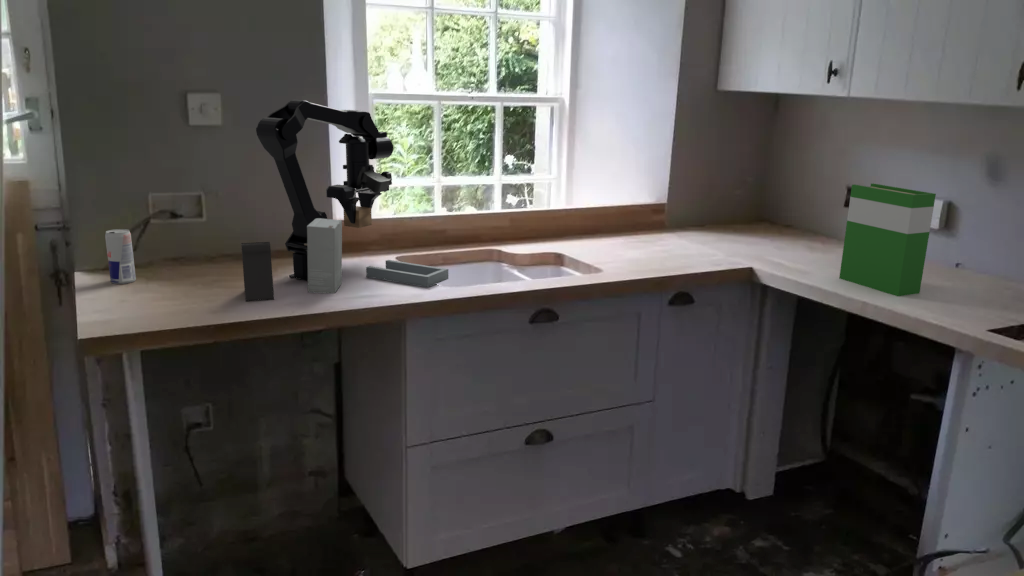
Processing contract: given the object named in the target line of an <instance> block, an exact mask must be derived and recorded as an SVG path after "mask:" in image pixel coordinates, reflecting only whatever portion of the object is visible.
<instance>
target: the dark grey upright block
mask: <svg viewBox="0 0 1024 576" xmlns="http://www.w3.org/2000/svg"><path fill="white" fill-rule="evenodd" d="M240 245H241V258H242V271H243V272H242V273H243V286H244V297H245V302H246V303H247V302H258V301H270V300H271V301H274V300H275V291H274V278H273V268H272V266H273V265H272V253H271V251H272V250H271V242H270V241H262V242H241V244H240Z"/></svg>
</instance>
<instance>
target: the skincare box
mask: <svg viewBox="0 0 1024 576" xmlns="http://www.w3.org/2000/svg"><path fill="white" fill-rule="evenodd" d="M306 245H307V261H308V280H307V292H308V293H312V294H313V293H314V294H315V293H318V294H335V293H336V292H337V290H338V289H339V288H340V286H341V285H342V284H343V283H342V282H343V279H342V277H343V276H342V275H343V272H342V270H343V267H342V266H343V220H342V219H332V218H327V219H322V218H316V219H315V220H313V221H312V222H311V223H310V224H309V225H308V226H307V244H306Z"/></svg>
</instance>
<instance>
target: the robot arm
mask: <svg viewBox="0 0 1024 576" xmlns="http://www.w3.org/2000/svg"><path fill="white" fill-rule="evenodd" d="M306 120H310V121H313V122H314V121H315V122H318V123H323V124H327V125H332V126H334V127H335V128H337V129H338V130H339V131H342V132H344V135H343V136H342V137H341V138H340V139H339V140H338V143H339V144H344V145H345V160H346V163H345V164H343V165H342V170H346V180H343V181H342V183H343V184H334V185H329V186H327V188H326V190H325V191H326V192H325V193H326V198H330V199H335V200H337V201H338V203H339V204H340V206H341V207H342V209H343V212H344V211H345V213H346V215H347V216H348V218H349V220H350V222H351V223H353V224H354V223H355V220H356V206H357V203H358V202H359V205H360V207H368V208H371V210H372V208H373V205H374V202H375V200H376V199H378V197H379V196H381V195H382V194H383V193H385V192H387V191H388V192H389V191H390V186H392V185H393V182H392V181H393V178H392V177H393V176H392V173H391V172H390V171H388V170H386V171H384V170H383V171H382V172H375V167H374V166H373V164H370V160H378V159H380V160H381V159H387V158H390V157H391V156H392V154H393V153H394V145H393V142H392V140H391V139H390V137H389V136H388V132H387V131H379V130H378V127H377V126H376V124H375V122H374V120H373V118H372V116H371V113H370V112H369V111H367V110H356V109H355V110H354V109H339V108H334V107H329V106H325V105H323V104H317V103H313V102H309V101H308V100H306V99H304V100H303V99H301V100H300V99H291V100H289V101H288V102H287V103H286V104H285V105H283V106H282V107H280V108H278V109H277V110H275V111H272V112H271V113H270V114H269V115H268V116H265V117H263V118H262V119H260V120H259V122H258V123H257V126H256V128H255V133H256V136H257V138H258V140H259V142H260V143H261V145H262V147H263V148H264V150H265V151H267V153H268V154H269V155H270V156H271V157H272V158H273V161H274V162H275V165H276V168H277V170H278V173H279V176H280V178H281V181H282V185H283V187H284V190H285V193H286V195H287V198H288V201H289V203H290V205H291V208H292V212H293V216H292V221H291V226H292V230H293V231H292V232H291V234H290V236H289V237H288V239H286V242H285V243H284V245H285V248H286V250H287V252H292V263H293V265H292V266H293V273H292V274H289V275H288V277H289V278H292V279H298V280H302V281H303V280H304V281H308V261H307V226H308V225H309V224H310V223H311V222H312V221H313V220H315V219H316V218H322V219H328V216H327V213H326V211H319V210H317V209H316V208H315V206H314V203H313V200H312V197H311V194H310V192H309V189H308V186H307V183H306V180H305V177H304V175H303V172H302V171H303V170H302V168H301V166H300V162H299V160H298V157H297V154H296V153H297V152H296V151H297V146H298V143H299V141H298V140H299V139H298V134H299V132H301V131H302V129H303V128H304V126H305V123H306ZM382 192H383V193H382Z"/></svg>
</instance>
